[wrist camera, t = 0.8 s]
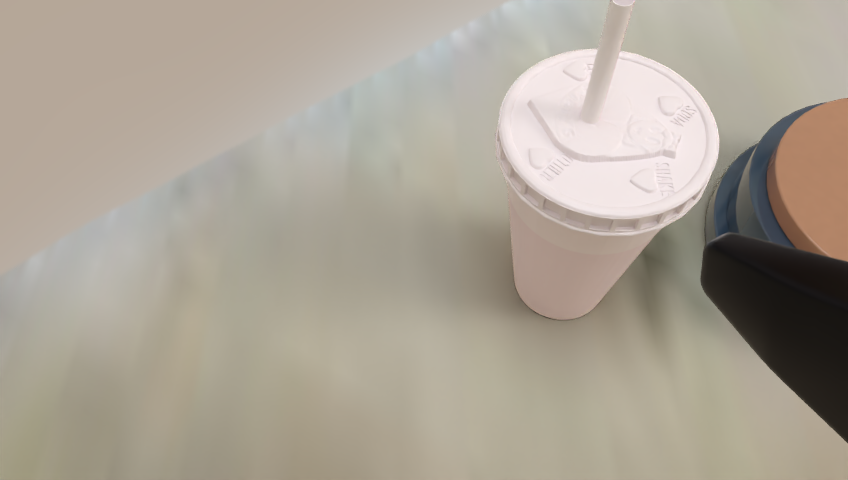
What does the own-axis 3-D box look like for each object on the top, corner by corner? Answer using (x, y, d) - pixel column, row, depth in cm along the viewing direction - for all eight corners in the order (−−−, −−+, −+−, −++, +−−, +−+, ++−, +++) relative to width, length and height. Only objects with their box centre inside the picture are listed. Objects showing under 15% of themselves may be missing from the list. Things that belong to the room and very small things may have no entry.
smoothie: (511, 194, 30) (556, -104, 18) (655, 241, 29) (809, -48, 17) (457, 317, 27) (469, 60, 15) (615, 376, 26) (766, 146, 14)
